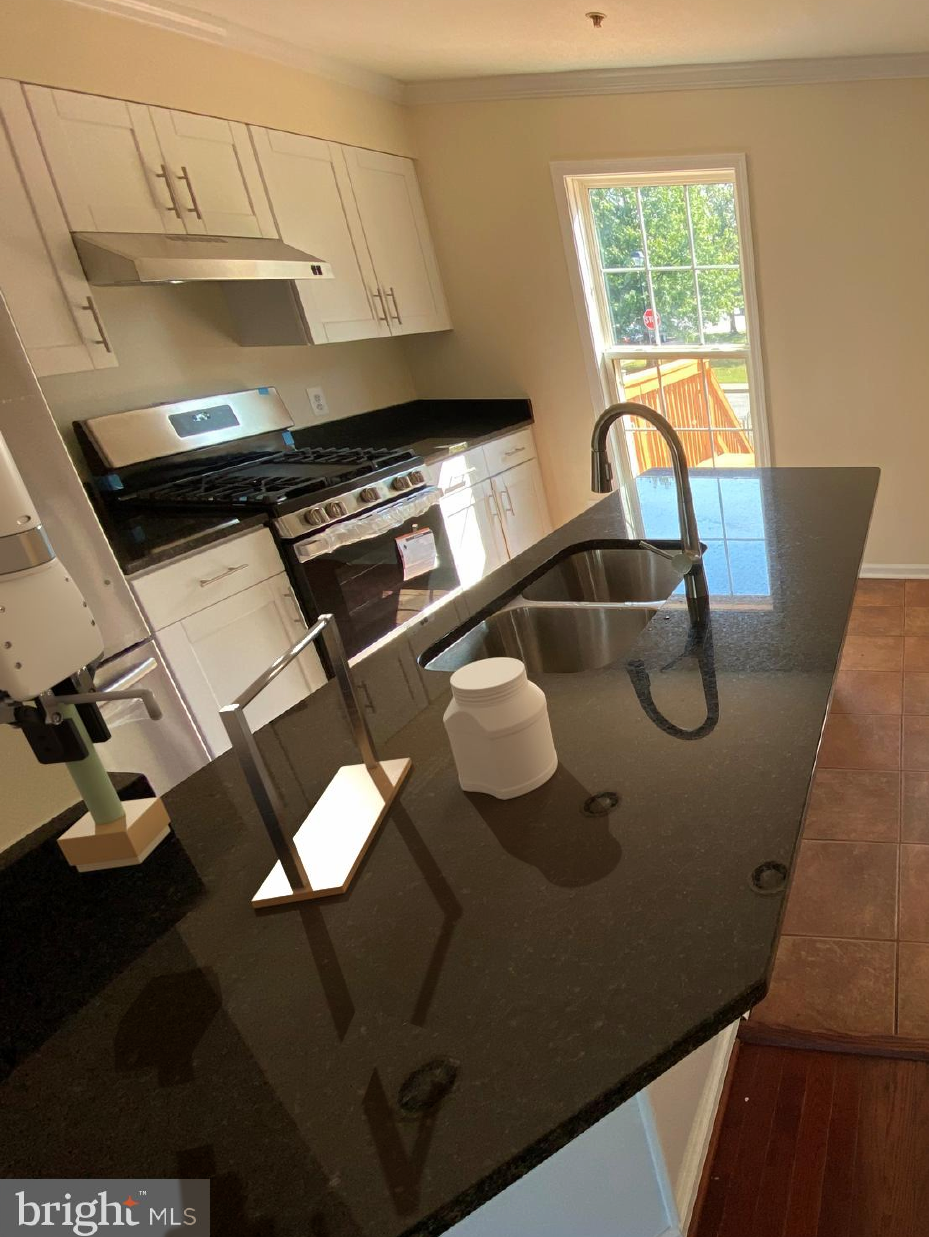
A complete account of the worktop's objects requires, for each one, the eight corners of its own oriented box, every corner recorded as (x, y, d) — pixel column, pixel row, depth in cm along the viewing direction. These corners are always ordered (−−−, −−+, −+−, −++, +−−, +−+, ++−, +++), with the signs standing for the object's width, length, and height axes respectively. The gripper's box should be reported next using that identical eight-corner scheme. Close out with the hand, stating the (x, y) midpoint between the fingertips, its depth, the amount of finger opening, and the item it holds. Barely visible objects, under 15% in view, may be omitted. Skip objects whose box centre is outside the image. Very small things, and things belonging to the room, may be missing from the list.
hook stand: (74, 874, 63) (-11, 715, 56) (112, 837, 67) (37, 686, 61) (199, 857, 65) (131, 702, 59) (227, 822, 70) (167, 674, 63)
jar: (445, 786, 88) (417, 684, 82) (501, 745, 96) (479, 649, 90) (521, 804, 85) (497, 699, 79) (571, 759, 93) (553, 661, 87)
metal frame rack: (253, 909, 70) (169, 719, 61) (343, 772, 90) (289, 615, 81) (344, 893, 72) (275, 707, 63) (412, 763, 92) (367, 609, 83)
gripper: (3, 528, 60) (89, 710, 67) (-194, 596, 46) (-59, 817, 53) (110, 524, 62) (182, 701, 69) (-48, 588, 48) (63, 802, 55)
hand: (77, 750), depth 61 cm, fingers closed on hook stand
